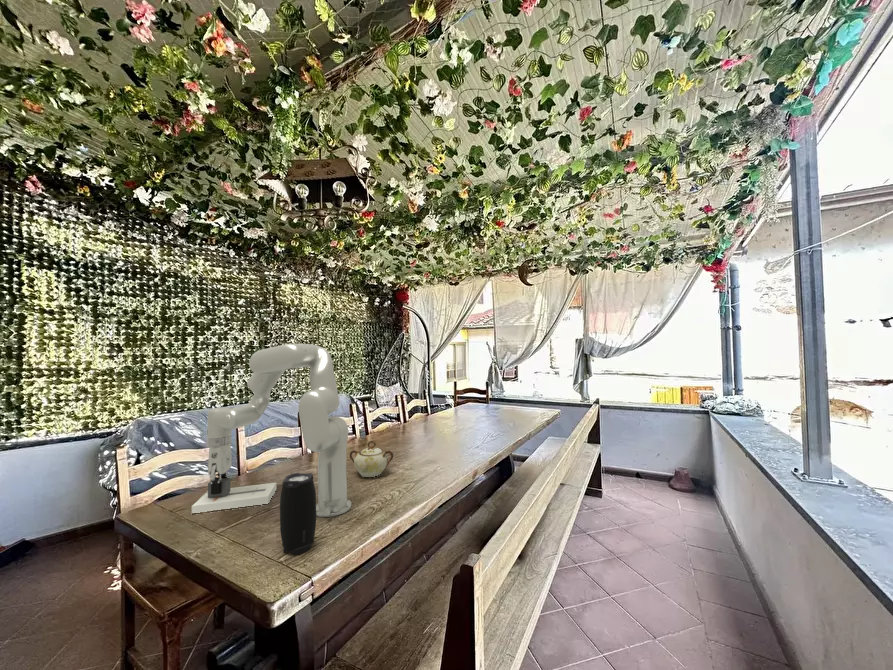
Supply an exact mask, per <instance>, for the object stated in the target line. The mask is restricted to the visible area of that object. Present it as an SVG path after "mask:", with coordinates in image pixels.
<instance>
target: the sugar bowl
mask: <svg viewBox="0 0 893 670" xmlns="http://www.w3.org/2000/svg"><path fill="white" fill-rule="evenodd" d="M371 443H373V446H370V445H371ZM376 445H377V444H376V441H374V440H370V441H368V443H367V447H366V448H364V449H361V450H355V449H353V450H352V451H350V452H349V458H350V460H351V461H352V463H353V465H354V466H355V470H356V471H357V472H358V473H359V474H360V476H361V477H362V478H364V477H374V478H376V477H375V476H377V477H379V476H381V475H382V473H383V472H384V470H385V469H386V468H387V467H388V465H389V464H390V462H391V461H392V460H393V458H394V454H393V451H391V450H386V451H385V450H384V449H382V448H378V447H377V446H376ZM353 453H354V454H355V456H354V458H353V456H352V454H353ZM387 454H389V455H390V458H389V457H388V455H387ZM380 474H381V475H380ZM378 475H379V476H378Z"/></svg>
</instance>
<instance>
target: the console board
mask: <svg viewBox="0 0 893 670" xmlns="http://www.w3.org/2000/svg"><path fill="white" fill-rule="evenodd" d="M275 491H277V482H269V483H268V482H267V483H261V484H253V485H252V484H251V485H245V486H238V487H237V486H236V487H230V492H229V493H228V494H227V495H225V496H217V497H209V498H208V490H207V491H206V492H205V493H204V494H203V495H202V496H201V497H200V498H199V499H198V500H196V501H195V503H193V504H192V505H191V514H192V513H200V512H207V511H213V510H221V509H230V508H238V507H245V506H253V505H261V506H263V505H262V504H268V503H269V504H270V502H271V501H272V499H273V497H274V495H275V493H276V492H275ZM272 496H273V497H272ZM271 498H272V499H271ZM270 500H271V501H270ZM269 504H268V505H269Z"/></svg>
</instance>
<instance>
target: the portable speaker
mask: <svg viewBox="0 0 893 670" xmlns="http://www.w3.org/2000/svg"><path fill="white" fill-rule="evenodd" d="M280 492H281V493H280V501H279V522H280V523H279V524H280V525H279V526H280V527H279V529H280V530H279V531H280V538H281V544H282V548H283V553H287V552H290V553H293V555H296V556H298V555H302V554H304V553H306V552H308V551H309V550H310V549H311V546H312V545H313V543H314V542H315V534H316V525H317V515H316V505H317V493H316V488H315V482H314V474H313V473H312V472H309V473H301V472H294V473H290V474H288V475H286V476H285V478H284V479H283V481H282V486H281V491H280ZM301 553H302V554H301Z"/></svg>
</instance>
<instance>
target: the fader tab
mask: <svg viewBox="0 0 893 670" xmlns="http://www.w3.org/2000/svg"><path fill="white" fill-rule="evenodd" d="M220 482H222V492H221V493H220V494H214V495H211V480H210V481H209V482H208V483H207V491H208V498H209V497H217V496H225V495H227V494H228V493H229V492H230V488H231V477H227V478H223V479H222V478H221V481H220Z"/></svg>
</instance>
